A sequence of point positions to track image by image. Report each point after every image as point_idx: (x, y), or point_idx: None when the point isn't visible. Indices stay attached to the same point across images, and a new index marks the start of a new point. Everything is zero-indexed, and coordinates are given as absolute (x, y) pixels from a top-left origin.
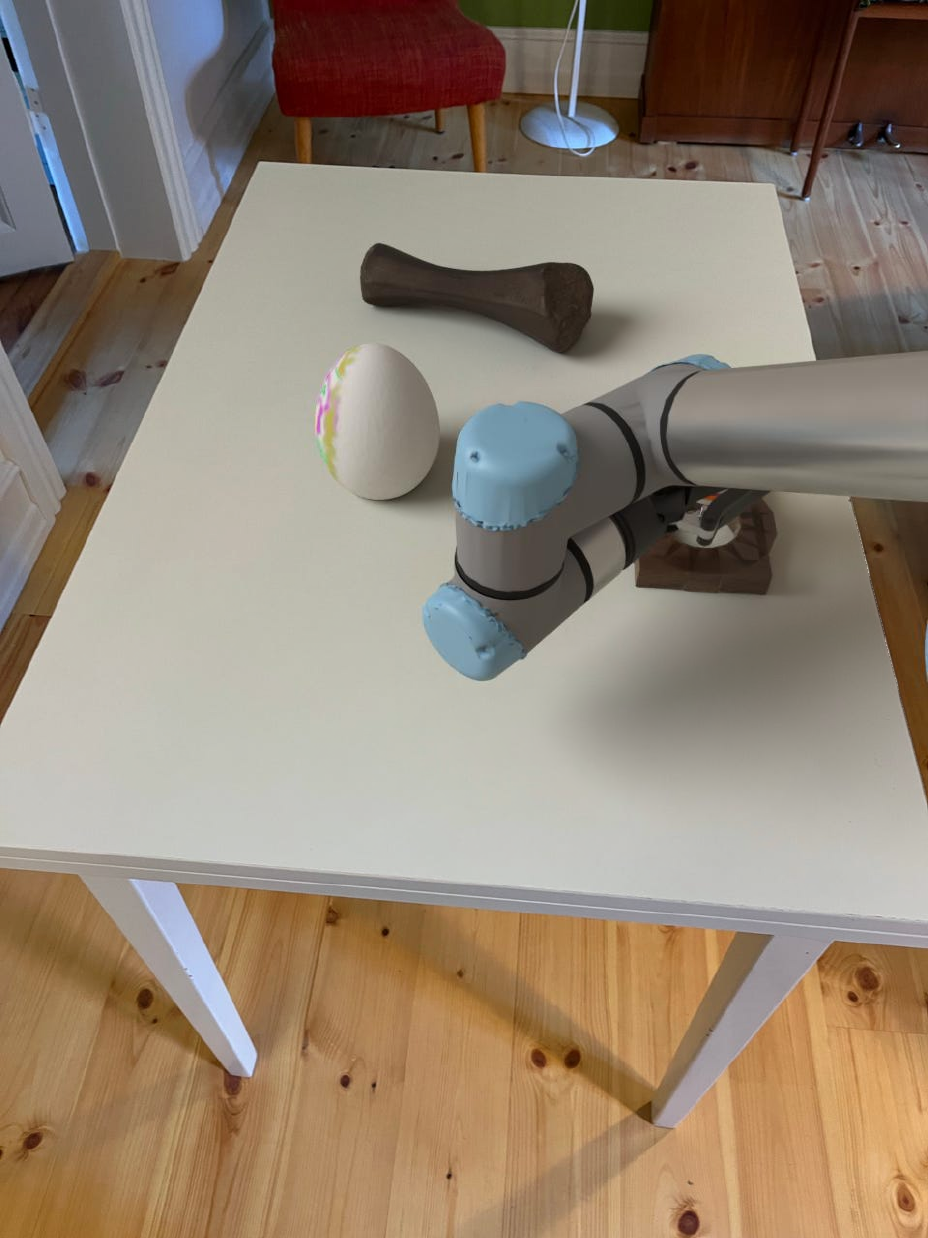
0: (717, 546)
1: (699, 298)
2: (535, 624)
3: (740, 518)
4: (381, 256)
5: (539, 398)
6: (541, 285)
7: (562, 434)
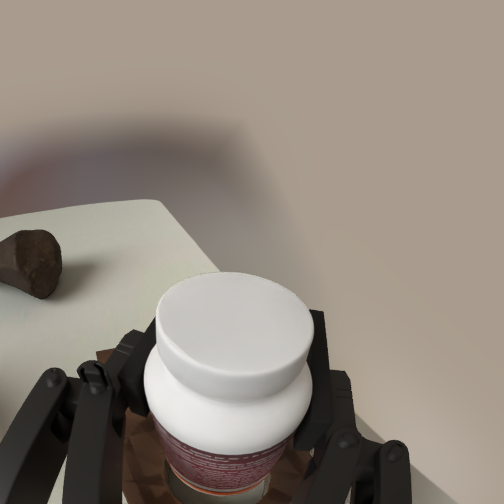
0: (260, 500)
1: (136, 245)
2: None
3: None
4: None
5: (26, 343)
6: (13, 247)
7: None
